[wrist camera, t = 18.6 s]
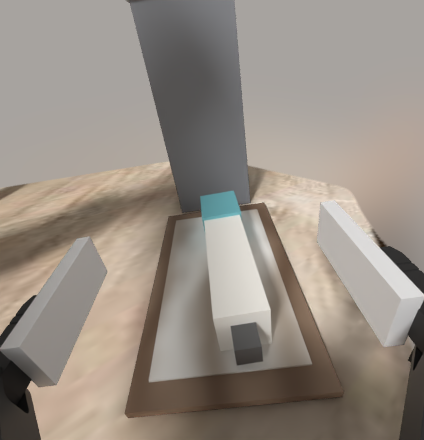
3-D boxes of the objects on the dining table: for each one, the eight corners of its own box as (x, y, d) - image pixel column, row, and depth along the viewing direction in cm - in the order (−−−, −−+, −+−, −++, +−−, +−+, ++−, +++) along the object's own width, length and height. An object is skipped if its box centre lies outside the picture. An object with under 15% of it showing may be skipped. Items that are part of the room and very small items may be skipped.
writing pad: (128, 417, 19) (123, 412, 19) (169, 220, 43) (168, 215, 42) (342, 396, 18) (344, 390, 18) (264, 206, 42) (263, 201, 41)
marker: (220, 376, 20) (211, 340, 17) (205, 224, 38) (200, 196, 36) (281, 366, 20) (281, 329, 17) (237, 218, 38) (233, 190, 36)
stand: (179, 214, 44) (120, -14, 28) (184, 183, 55) (143, 7, 39) (253, 203, 43) (236, -37, 27) (243, 174, 54) (227, -10, 38)
